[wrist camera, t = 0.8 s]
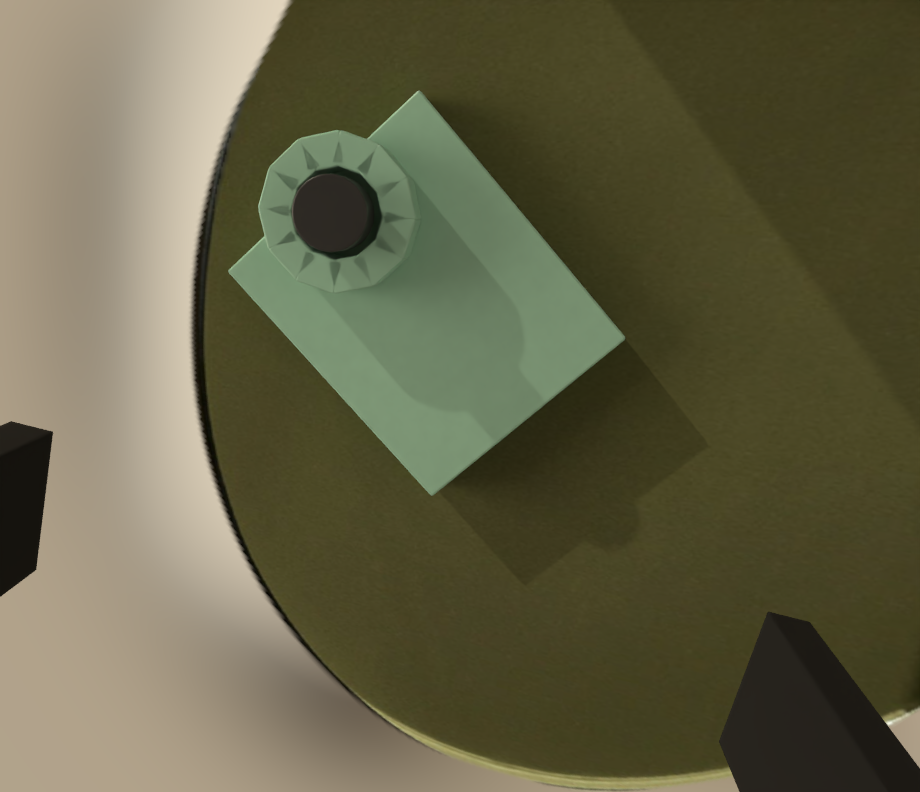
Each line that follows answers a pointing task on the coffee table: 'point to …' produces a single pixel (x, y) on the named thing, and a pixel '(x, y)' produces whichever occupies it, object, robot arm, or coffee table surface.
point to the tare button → (332, 213)
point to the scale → (424, 294)
